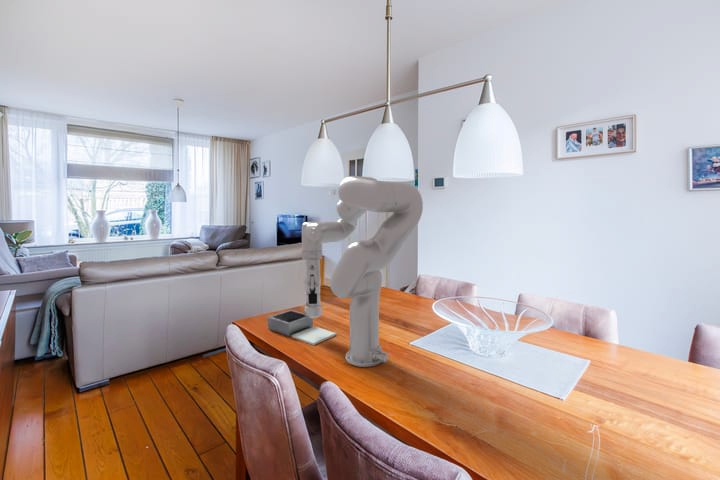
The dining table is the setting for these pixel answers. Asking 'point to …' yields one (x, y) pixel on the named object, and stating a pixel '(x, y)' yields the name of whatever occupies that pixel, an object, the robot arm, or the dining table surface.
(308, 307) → the plastic bottle
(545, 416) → the dining table surface
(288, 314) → the steel collar
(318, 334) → the mat
